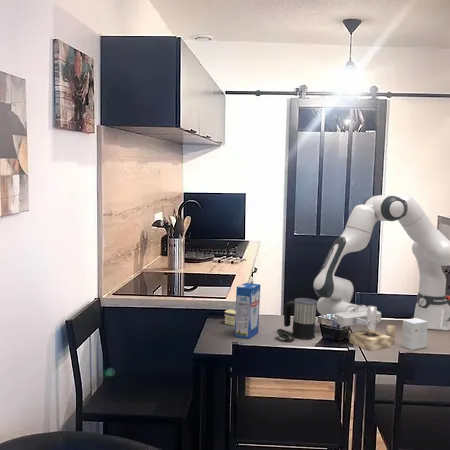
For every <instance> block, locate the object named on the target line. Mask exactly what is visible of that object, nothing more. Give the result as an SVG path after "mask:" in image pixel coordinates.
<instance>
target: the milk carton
mask: <svg viewBox="0 0 450 450" xmlns="http://www.w3.org/2000/svg"><path fill="white" fill-rule="evenodd" d="M235 291H236V292H235V293H236V294H235V295H236V299H235V311H236V314H235V326H234V337H236V338H241V339H247V340H249V339H251V338H253V337H254V336H256V335H257V334H259V324H260V305H261V304H260V302H261V300H260V299H261V284H259V283H253V282H252V283H249V282H245V283H242V284H240V285H238V286H236V290H235Z"/></svg>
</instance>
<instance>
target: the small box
mask: <svg viewBox="0 0 450 450" xmlns="http://www.w3.org/2000/svg"><path fill="white" fill-rule="evenodd" d="M413 318H414V317H413ZM401 328H402V330H401V331H402V332H401V343H400V345H401V347H403V348H406V349H408V350H410V351H414V350H417V349H425V348H427V342H428V341H427V340H428V321H425V320H422V319H419V318H414V319H412V318H409V319H408V318H407V319H403V320H402V327H401Z"/></svg>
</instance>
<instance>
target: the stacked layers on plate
mask: <svg viewBox="0 0 450 450" xmlns="http://www.w3.org/2000/svg"><path fill="white" fill-rule="evenodd" d="M235 314H236V309H235V310H234V309H226V310H225V311H224V317H225V318H224V319H223V320H224V324H225V325H231V326H233V327H235Z"/></svg>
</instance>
